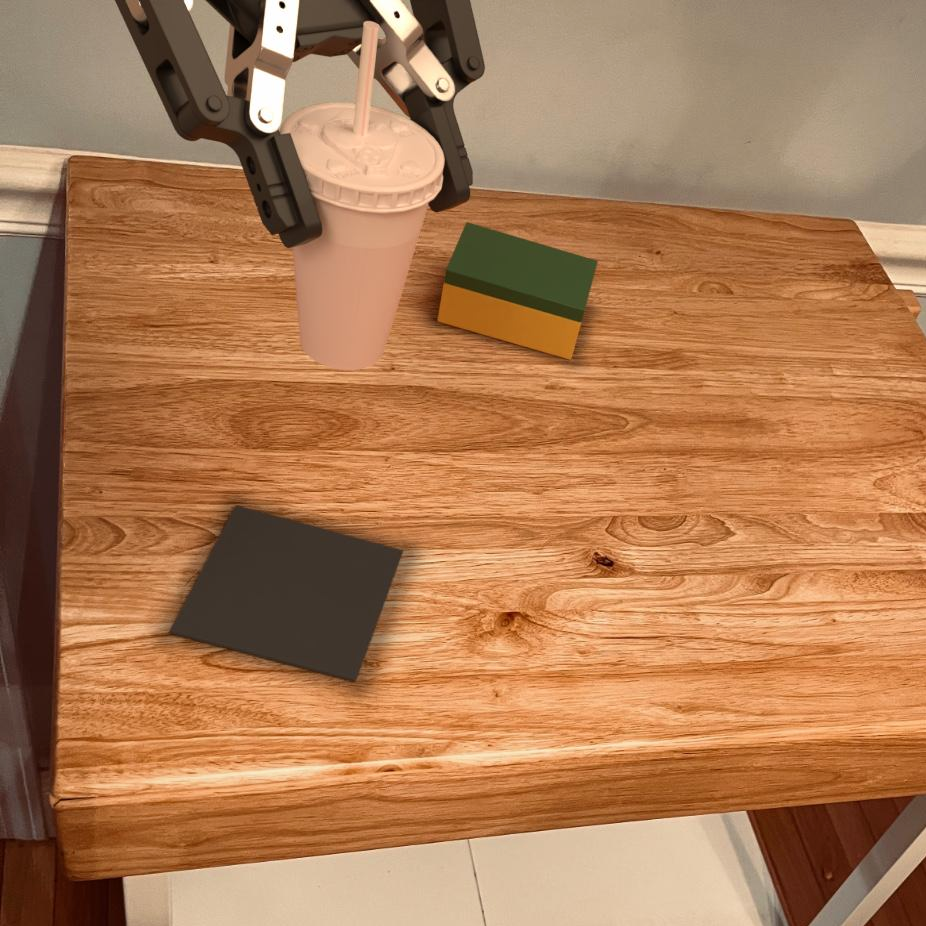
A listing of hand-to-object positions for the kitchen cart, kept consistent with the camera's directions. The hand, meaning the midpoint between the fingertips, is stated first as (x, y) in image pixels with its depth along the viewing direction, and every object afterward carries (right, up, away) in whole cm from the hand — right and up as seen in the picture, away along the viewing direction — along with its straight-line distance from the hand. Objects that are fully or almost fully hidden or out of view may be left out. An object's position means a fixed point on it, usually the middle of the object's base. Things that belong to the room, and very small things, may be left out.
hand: (381, 222), depth 47 cm
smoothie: (-3, -4, +6) cm, 8 cm away
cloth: (-7, -14, +13) cm, 20 cm away
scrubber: (+3, +4, +32) cm, 33 cm away
